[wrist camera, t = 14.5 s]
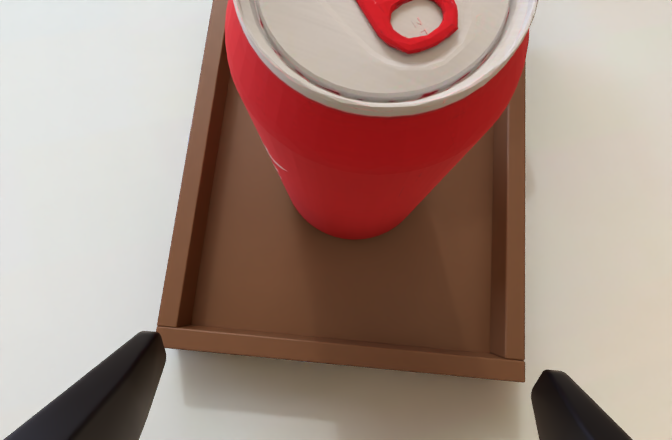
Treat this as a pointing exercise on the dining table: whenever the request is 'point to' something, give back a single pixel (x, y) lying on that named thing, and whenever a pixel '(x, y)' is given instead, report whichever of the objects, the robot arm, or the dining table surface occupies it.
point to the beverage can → (372, 96)
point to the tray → (344, 255)
